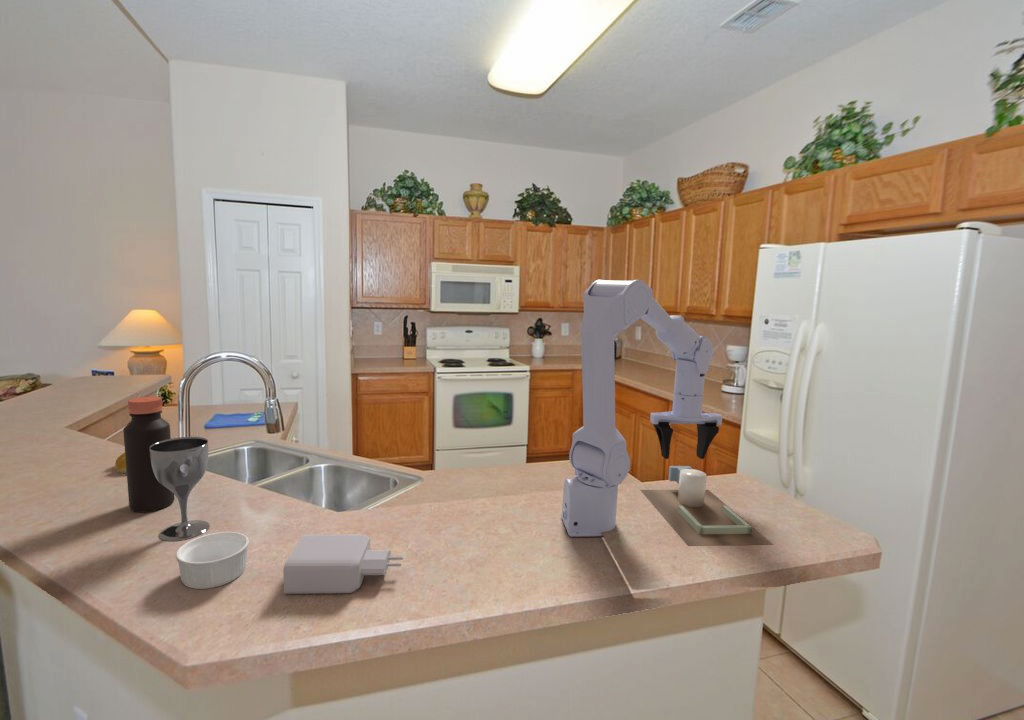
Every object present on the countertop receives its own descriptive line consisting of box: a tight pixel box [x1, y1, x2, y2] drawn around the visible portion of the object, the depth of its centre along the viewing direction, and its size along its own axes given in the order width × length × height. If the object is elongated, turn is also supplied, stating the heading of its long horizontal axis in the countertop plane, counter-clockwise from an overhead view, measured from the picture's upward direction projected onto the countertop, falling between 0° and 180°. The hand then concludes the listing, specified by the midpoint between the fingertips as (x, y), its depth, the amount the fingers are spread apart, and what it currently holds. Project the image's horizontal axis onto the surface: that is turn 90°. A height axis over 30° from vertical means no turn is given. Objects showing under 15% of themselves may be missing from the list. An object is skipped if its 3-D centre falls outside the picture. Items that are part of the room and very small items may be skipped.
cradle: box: [678, 505, 753, 534], centre depth 91 cm, size 10×9×1 cm
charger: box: [282, 533, 404, 595], centre depth 71 cm, size 5×9×15 cm
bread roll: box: [115, 451, 127, 474], centre depth 110 cm, size 8×9×4 cm
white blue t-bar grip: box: [667, 465, 708, 507], centre depth 101 cm, size 9×5×6 cm, turn 3°
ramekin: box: [175, 531, 250, 590], centre depth 71 cm, size 9×9×4 cm
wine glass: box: [150, 436, 211, 542], centre depth 82 cm, size 8×8×15 cm
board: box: [640, 489, 774, 547], centre depth 94 cm, size 15×23×1 cm, turn 5°
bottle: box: [123, 396, 175, 513], centre depth 90 cm, size 7×7×20 cm
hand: (682, 457), depth 103 cm, fingers open, 7 cm apart
